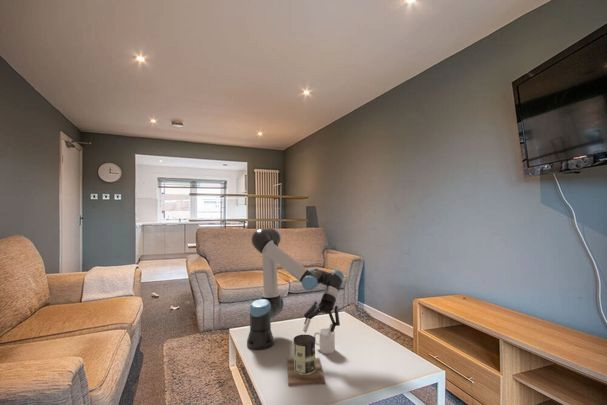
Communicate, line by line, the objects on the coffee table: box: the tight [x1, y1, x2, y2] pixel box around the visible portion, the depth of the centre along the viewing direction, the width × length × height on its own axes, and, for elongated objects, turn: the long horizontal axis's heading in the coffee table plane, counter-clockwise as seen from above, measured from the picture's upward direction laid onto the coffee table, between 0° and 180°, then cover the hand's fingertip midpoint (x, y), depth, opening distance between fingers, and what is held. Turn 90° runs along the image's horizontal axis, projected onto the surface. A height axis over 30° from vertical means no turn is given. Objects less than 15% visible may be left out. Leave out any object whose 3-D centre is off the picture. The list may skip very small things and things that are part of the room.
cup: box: [313, 327, 336, 355], centre depth 159 cm, size 8×12×10 cm
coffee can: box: [292, 333, 316, 375], centre depth 137 cm, size 10×10×14 cm
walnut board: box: [286, 357, 326, 386], centre depth 137 cm, size 20×16×1 cm
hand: (315, 334), depth 146 cm, fingers open, 13 cm apart
